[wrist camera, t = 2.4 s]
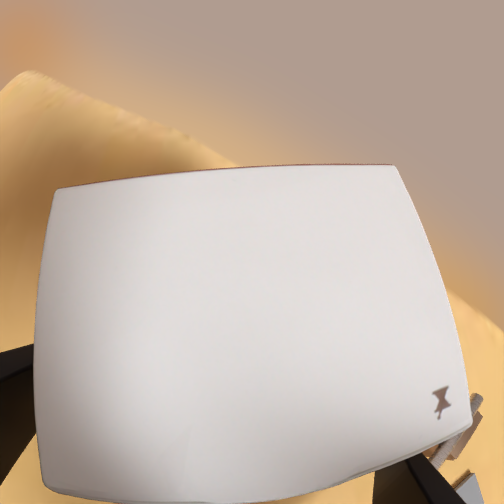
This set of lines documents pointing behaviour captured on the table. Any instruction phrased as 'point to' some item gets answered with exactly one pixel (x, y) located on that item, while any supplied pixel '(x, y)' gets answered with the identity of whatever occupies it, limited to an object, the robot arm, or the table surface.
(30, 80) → the table surface
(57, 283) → the small box
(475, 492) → the mat
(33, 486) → the table surface
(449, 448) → the steel rod
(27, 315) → the table surface
